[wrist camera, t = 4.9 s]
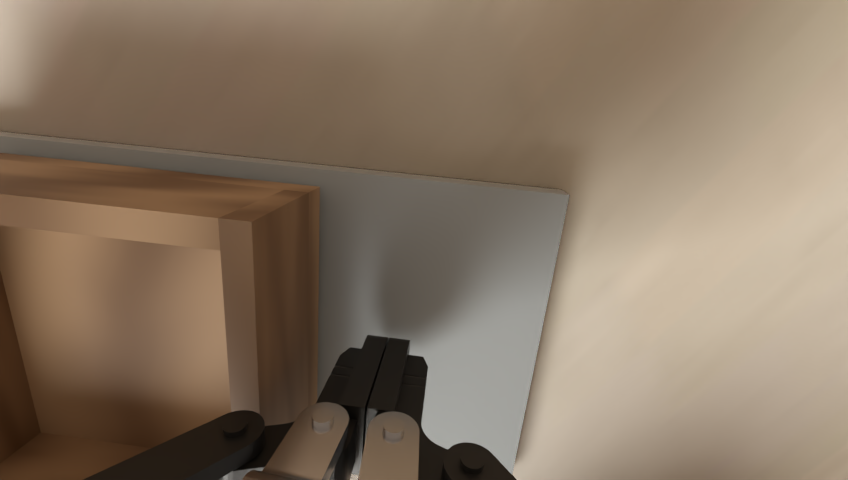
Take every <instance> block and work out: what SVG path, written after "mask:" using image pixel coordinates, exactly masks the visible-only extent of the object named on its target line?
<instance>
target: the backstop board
mask: <svg viewBox="0 0 848 480" xmlns="http://www.w3.org/2000/svg"><path fill="white" fill-rule="evenodd" d="M0 153H8V154H17V155H26V156H36V157H45V158H55V159H64V160H73V161H83V162H92V163H102V164H111V165H121V166H130V167H139V168H149V169H158V170H168V171H177V172H186V173H196V174H205V175H215V176H224V177H233V178H243V179H252V180H262V181H271V182H281V183H290V184H299V185H309V186H318V187H320V218H319V301H318V383H317V400H318V398H319V396H320V394H321V392H322V390H323V388H324V386H325V384H326V382H327V380H328V378H329V376H330V375H331V372H332V370H333V368H334V367H335V364H336V362H337V360H338V358H339V356H340V355H341V354H342V353H343V352H345V351H346V350H347V349H349V348H350V347H352V348H360V349H362V346H363V344H364V342H365V339H366V337H367V335H374V336H382V337H388V338H398V339H406V340H410V351H409V355H414V356H422V357H424V359H425V361H426V363H427V366H428V372H427V381H426V389H425V398H424V407H423V415H422V423H421V426H422V429H423V432H424V433H425V435H426V436H427V437H428V438H429V439H430V440H431V441H432V442H434V443H435V444H437V445H439V446H441V447H443V448H445V449H449V448H450V447H452V446H453V445H455V444H458V443H463V442H469V443H475V444H478V445H481V446H482V447H484V448H486V449H487V450H489V451H490V452H491V453H492V454H493V455H494V456H495V457H496V458H497V459H498V460H499V461H500V463H501V464H502V465H503V466H504V467H505V468H506V469H507V470H508V471H509V472H510V473H511V474H512V473H513V468H514V464H515V459H516V454H517V449H518V444H519V439H520V434H521V429H522V425H523V420H524V415H525V410H526V405H527V400H528V395H529V391H530V386H531V381H532V376H533V371H534V366H535V361H536V356H537V352H538V347H539V342H540V337H541V332H542V327H543V322H544V317H545V313H546V308H547V303H548V298H549V293H550V288H551V283H552V278H553V274H554V269H555V264H556V259H557V254H558V249H559V244H560V240H561V235H562V230H563V225H564V220H565V215H566V210H567V205H568V201H569V196H570V195H569V194H567V193H566V192H564V191H563V190H560V189H551V188H541V187H531V186H522V185H512V184H502V183H493V182H483V181H473V180H464V179H454V178H444V177H435V176H425V175H415V174H406V173H396V172H386V171H377V170H367V169H357V168H348V167H338V166H329V165H319V164H309V163H300V162H290V161H280V160H271V159H261V158H251V157H242V156H232V155H222V154H213V153H203V152H193V151H184V150H174V149H164V148H155V147H145V146H135V145H126V144H116V143H106V142H97V141H87V140H77V139H68V138H58V137H48V136H39V135H29V134H19V133H10V132H0Z"/></svg>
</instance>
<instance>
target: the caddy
mask: <svg viewBox="0 0 848 480" xmlns="http://www.w3.org/2000/svg"><path fill="white" fill-rule="evenodd" d="M319 218H320V187H318V186H309V185H299V184H290V183H281V182H271V181H262V180H252V179H243V178H233V177H224V176H215V175H205V174H196V173H186V172H177V171H168V170H158V169H149V168H139V167H130V166H121V165H111V164H102V163H92V162H83V161H73V160H64V159H55V158H45V157H36V156H26V155H17V154H8V153H0V480H83V479H85V478H87V477H90V476H92V475H94V474H96V473H98V472H100V471H103V470H105V469H107V468H109V467H111V466H114V465H116V464H118V463H120V462H122V461H124V460H127V459H129V458H131V457H133V456H135V455H138V454H140V453H142V452H144V451H146V450H148V449H151V448H153V447H155V446H157V445H159V444H161V443H164V442H166V441H168V440H170V439H172V438H175V437H177V436H179V435H181V434H183V433H185V432H188V431H190V430H192V429H194V428H196V427H199V426H201V425H203V424H205V423H207V422H209V421H212V420H214V419H216V418H218V417H220V416H222V415H225V414H227V413H230V412H233V411H239V410H249V411H254V412H256V413H258V414H260V415H261V416H262V417H263V419H264V422H265V426H269V425H278V424H286V423H290V422H294V421H295V420H296V419H297V417H298V416H299V414H300V413H301V412H302V411H303V410H304V409H305V408H307V407H309V406H311V405H313V404H316V402H317V383H318V301H319Z"/></svg>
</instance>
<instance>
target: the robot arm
mask: <svg viewBox="0 0 848 480" xmlns="http://www.w3.org/2000/svg"><path fill="white" fill-rule="evenodd" d="M409 351H410V340H406V339H398V338H388V337H382V336H374V335H367V337H366V339H365V342H364V344H363V346H362V349H360V348H352V347H350V348H349V349H347V350H346V351H345V352H343V353H342V354H341V355H340V356H339V358H338V360H337V362H336V364H335V367H334V368H333V370H332V372H331V375H330V376H329V378H328V380H327V382H326V384H325V386H324V388H323V390H322V392H321V394H320V396H319V398H318V400H317V402H316V404H313V405H311V406H309V407H307V408H305V409H304V410H303V411H302V412H301V413H300V414H299V416H298V417H297V419H296V420H295V421H294V422H290V423H286V424H278V425H269V426H265V422H264V419H263V417H262V416H261V415H260V414H258V413H256V412H254V411H249V410H239V411H233V412H230V413H227V414H225V415H222V416H220V417H218V418H216V419H214V420H212V421H209V422H207V423H205V424H203V425H201V426H199V427H196V428H194V429H192V430H190V431H188V432H185V433H183V434H181V435H179V436H177V437H175V438H172V439H170V440H168V441H166V442H164V443H161V444H159V445H157V446H155V447H153V448H151V449H148V450H146V451H144V452H142V453H140V454H138V455H135V456H133V457H131V458H129V459H127V460H124V461H122V462H120V463H118V464H116V465H114V466H111V467H109V468H107V469H105V470H103V471H100V472H98V473H96V474H94V475H92V476H90V477H87V478H85V479H83V480H350V477H351V474H355V475H359V477H358V480H516V479H515V477H514V476H513V475H512V474H511V473H510V472H509V471H508V470H507V469H506V468H505V467H504V466H503V465H502V464H501V463H500V461H499V460H498V459H497V458H496V457H495V456H494V455H493V454H492V453H491V452H490V451H489V450H487V449H486V448H484V447H482V446H481V445H478V444H475V443H469V442H463V443H458V444H455V445H453V446H452V447H450V448H449V449H445V448H443V447H441V446H439V445H437V444H435V443H434V442H432V441H431V440H430V439H429V438H428V437H427V436H426V435H425V433H424V432H423V429H422V426H421V423H422V415H423V407H424V398H425V389H426V381H427V372H428V366H427V363H426V361H425V359H424V357H422V356H414V355H409Z"/></svg>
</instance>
